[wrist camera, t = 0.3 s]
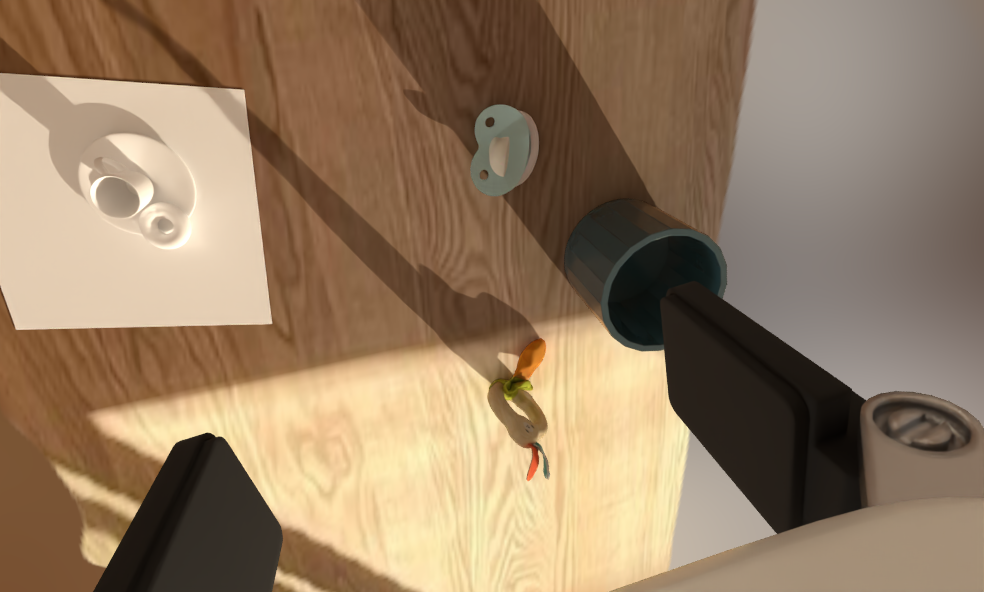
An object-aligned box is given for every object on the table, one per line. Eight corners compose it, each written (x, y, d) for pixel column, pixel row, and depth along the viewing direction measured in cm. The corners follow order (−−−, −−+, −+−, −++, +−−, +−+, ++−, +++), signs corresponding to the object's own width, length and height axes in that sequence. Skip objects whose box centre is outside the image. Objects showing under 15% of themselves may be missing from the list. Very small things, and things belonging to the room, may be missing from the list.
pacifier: (542, 107, 43) (473, 99, 41) (569, 115, 37) (491, 106, 36) (530, 192, 46) (465, 188, 44) (552, 211, 40) (480, 207, 39)
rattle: (573, 375, 55) (615, 446, 45) (513, 417, 56) (542, 496, 46) (537, 331, 52) (575, 398, 42) (474, 376, 53) (497, 452, 43)
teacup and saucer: (207, 243, 42) (190, 261, 38) (98, 242, 40) (70, 260, 37) (189, 134, 38) (168, 142, 35) (68, 128, 36) (33, 136, 33)
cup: (555, 217, 47) (593, 252, 39) (666, 184, 48) (726, 211, 39) (573, 316, 52) (610, 366, 44) (672, 285, 53) (727, 329, 45)
